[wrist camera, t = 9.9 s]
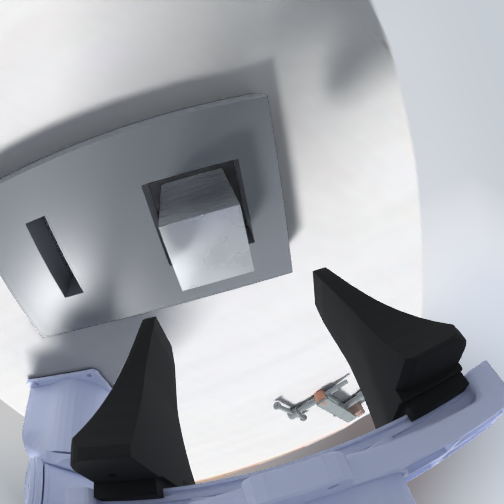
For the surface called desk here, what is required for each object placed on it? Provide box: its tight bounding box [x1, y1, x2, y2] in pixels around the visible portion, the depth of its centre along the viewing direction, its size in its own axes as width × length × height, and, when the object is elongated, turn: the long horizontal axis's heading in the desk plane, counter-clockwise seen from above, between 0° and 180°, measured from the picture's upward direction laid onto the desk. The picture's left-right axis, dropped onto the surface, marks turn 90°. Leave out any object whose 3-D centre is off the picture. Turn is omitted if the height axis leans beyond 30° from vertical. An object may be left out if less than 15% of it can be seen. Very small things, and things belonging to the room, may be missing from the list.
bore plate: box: [0, 93, 292, 338], centre depth 19 cm, size 20×12×2 cm, turn 100°
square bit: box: [159, 168, 254, 291], centre depth 19 cm, size 4×4×6 cm
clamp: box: [273, 380, 365, 422], centre depth 39 cm, size 15×2×10 cm
